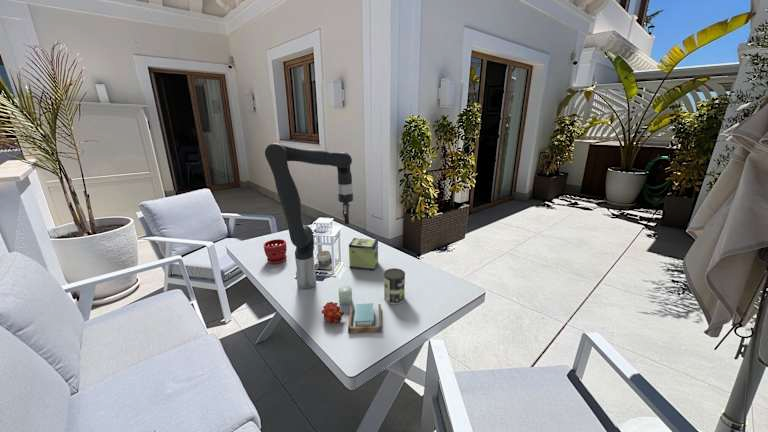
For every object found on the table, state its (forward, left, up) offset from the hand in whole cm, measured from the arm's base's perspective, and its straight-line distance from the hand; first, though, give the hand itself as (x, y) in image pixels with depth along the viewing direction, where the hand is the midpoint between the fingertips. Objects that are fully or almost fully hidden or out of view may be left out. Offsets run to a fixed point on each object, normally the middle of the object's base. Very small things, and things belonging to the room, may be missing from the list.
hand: (346, 223), depth 158 cm
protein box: (+8, +12, -32) cm, 35 cm away
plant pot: (-47, +21, -32) cm, 61 cm away
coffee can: (+24, -22, -32) cm, 46 cm away
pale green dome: (0, -24, -32) cm, 40 cm away
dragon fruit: (-4, -37, -32) cm, 49 cm away
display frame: (+10, -38, -32) cm, 50 cm away
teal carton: (+10, -37, -32) cm, 50 cm away
